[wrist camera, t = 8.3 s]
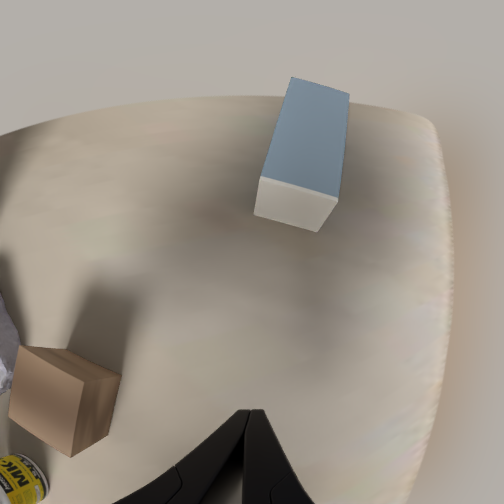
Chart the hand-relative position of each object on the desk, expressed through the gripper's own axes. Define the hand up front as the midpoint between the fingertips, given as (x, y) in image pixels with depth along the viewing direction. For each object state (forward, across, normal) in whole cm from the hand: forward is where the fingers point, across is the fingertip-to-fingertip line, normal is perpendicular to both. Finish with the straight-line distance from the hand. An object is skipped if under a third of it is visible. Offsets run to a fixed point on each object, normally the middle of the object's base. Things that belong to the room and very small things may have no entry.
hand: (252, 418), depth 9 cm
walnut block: (+6, -13, -6) cm, 16 cm away
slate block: (+14, +2, +5) cm, 14 cm away
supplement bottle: (0, -21, -13) cm, 24 cm away
